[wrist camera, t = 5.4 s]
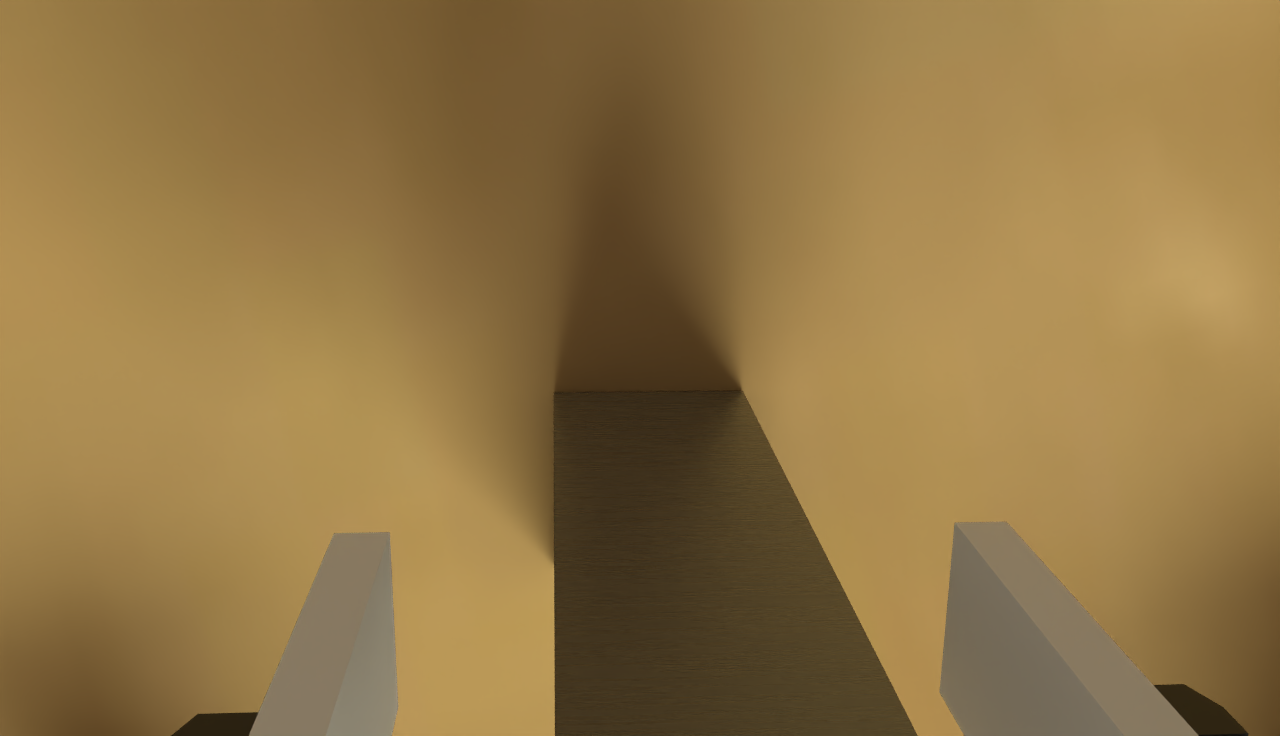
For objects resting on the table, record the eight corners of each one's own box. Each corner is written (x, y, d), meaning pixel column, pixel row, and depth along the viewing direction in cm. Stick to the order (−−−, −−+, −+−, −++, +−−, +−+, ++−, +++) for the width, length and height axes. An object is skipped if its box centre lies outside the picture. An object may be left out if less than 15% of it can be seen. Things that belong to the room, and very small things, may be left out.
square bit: (553, 392, 22) (554, 812, 10) (742, 391, 22) (949, 800, 11) (555, 567, 23) (557, 1131, 11) (736, 564, 23) (920, 1113, 11)
